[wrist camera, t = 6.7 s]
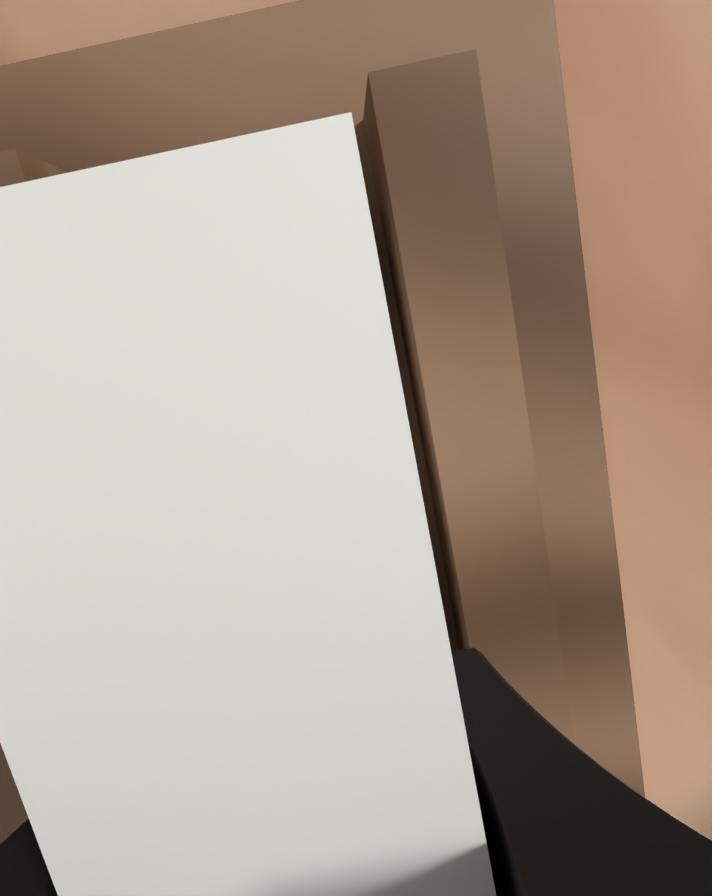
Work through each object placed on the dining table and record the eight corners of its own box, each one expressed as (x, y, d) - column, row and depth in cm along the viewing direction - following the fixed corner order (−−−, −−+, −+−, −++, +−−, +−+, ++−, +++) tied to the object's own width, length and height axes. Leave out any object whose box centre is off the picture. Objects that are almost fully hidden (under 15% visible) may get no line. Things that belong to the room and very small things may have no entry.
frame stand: (655, 951, 16) (723, 1095, 13) (187, 1033, 17) (154, 1190, 14) (538, -40, 11) (605, -155, 8) (-128, 106, 12) (-285, 44, 9)
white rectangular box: (468, 861, 15) (602, 1471, 7) (310, 888, 15) (274, 1522, 7) (346, 231, 12) (351, 113, 4) (147, 273, 12) (-225, 233, 4)
